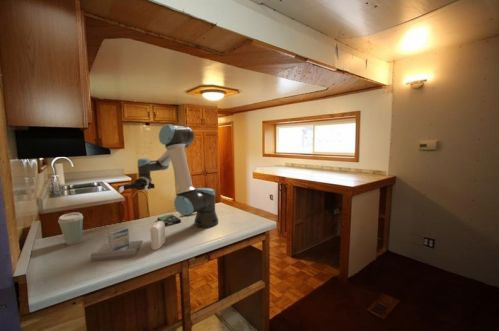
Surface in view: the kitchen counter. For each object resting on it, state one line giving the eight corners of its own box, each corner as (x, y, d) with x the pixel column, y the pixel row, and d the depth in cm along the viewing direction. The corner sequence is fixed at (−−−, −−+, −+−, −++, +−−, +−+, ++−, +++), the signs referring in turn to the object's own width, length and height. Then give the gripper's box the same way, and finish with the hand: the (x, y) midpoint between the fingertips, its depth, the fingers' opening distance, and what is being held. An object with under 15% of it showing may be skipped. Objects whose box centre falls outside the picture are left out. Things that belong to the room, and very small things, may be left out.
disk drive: (181, 223, 150) (171, 217, 160) (181, 219, 149) (171, 213, 160) (165, 227, 143) (156, 221, 153) (165, 223, 142) (156, 217, 153)
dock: (142, 242, 120) (142, 236, 120) (134, 256, 105) (134, 249, 105) (104, 246, 116) (104, 240, 116) (91, 261, 101) (90, 254, 101)
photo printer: (158, 241, 122) (157, 218, 120) (166, 241, 122) (165, 218, 120) (150, 250, 111) (148, 225, 110) (158, 250, 111) (157, 225, 110)
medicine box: (113, 251, 107) (112, 234, 106) (108, 249, 109) (107, 232, 108) (129, 245, 114) (128, 228, 113) (124, 243, 116) (123, 226, 115)
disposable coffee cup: (88, 241, 121) (86, 214, 120) (63, 249, 113) (60, 220, 111) (81, 236, 128) (79, 210, 126) (57, 243, 119) (54, 215, 118)
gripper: (162, 187, 152) (156, 194, 131) (120, 190, 146) (108, 197, 125) (161, 176, 151) (156, 181, 130) (120, 178, 145) (107, 184, 125)
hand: (132, 189), depth 128 cm, fingers open, 13 cm apart
